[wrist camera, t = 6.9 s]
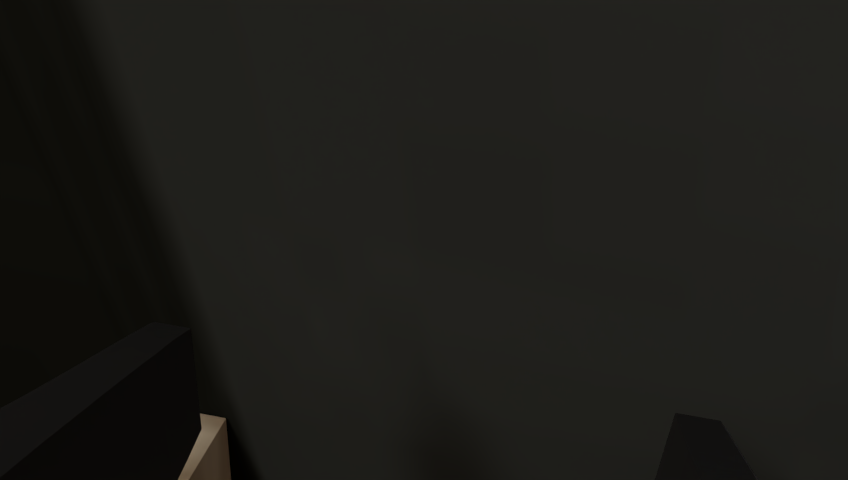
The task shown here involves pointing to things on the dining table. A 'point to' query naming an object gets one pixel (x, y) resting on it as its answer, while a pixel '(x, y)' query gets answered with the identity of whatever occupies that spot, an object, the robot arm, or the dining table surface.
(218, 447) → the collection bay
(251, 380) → the dining table surface
